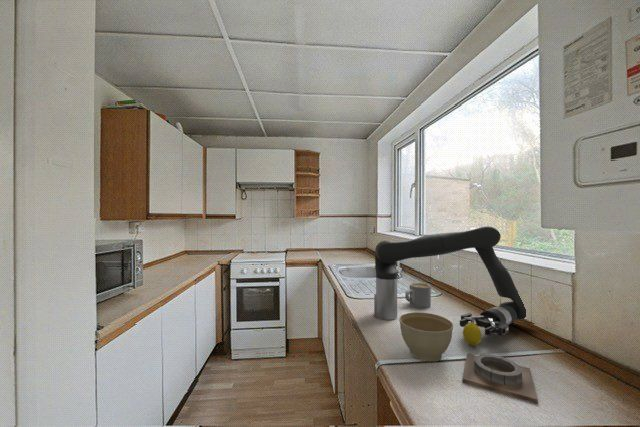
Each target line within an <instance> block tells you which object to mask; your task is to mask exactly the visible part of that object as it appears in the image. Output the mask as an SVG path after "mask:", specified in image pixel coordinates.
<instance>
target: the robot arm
mask: <svg viewBox="0 0 640 427" xmlns="http://www.w3.org/2000/svg"><path fill="white" fill-rule="evenodd" d="M501 237H502V236H501V233H500V232H499V230H498V229H496V228H495V227H494V226H493V227H492V226H490V225H482V226H479V227H476V228H473V229H469V230H464V231H451V232H449V231H448V232H442V233H441V232H440V233H433V234H426V235H423V236H420V237H417V238H414V239H411V240H407V241H399V242H398V241H397V242H392V241H389V240H383V241H380V242H378V243H377V245H375V250H374V269H375V293H374V299H373V300H374V302H373V305H374V308H373V309H374V310H373V313H374V314H373V315H374V317H377V318H378V319H381V320H387V321H391V320H396V319H397V318H398V269H397V262H399V261H404V260H407V259H408V260H409V259H412V258H414V259H416V258H427V257H434V256H442V255H448V254H452V253H455V252H458V251H459V252H460V251H463V250H467V249H474V250H475V251H476V252H477V254H478V255H479V258H480V259H481V262H483V265H484V266H485V268H486V270H487V271H488V274H489V277H490V279H491V281H492V283H493V286H494V287H495V290H496V293H497V294H498V296H499V297H500V298H501V297H502V298H507V299H510V300H511V301H504V302H502V303H500V304H499V305H498V306H495V307H491V308H489V309H486V310H483V311H482V312H481V313H480V315H473V313H472V312H469V313H465V314H464V313H463V314H462V315H460V320H459V326H460V327H461V328H464V327H465V325H467V324H469V323H473V324H475V325H477V326H478V327H480V328H484V335H485V336H491V335H496V334H498V335H499V336H502V337H503V336H504V335H506V334H507V333H509V325H511V324H513V323H515V321H518V319H520V320H525V319H524V318H525V317H526V309H525V307H524V304H523V302H522V300H521V298H520V296H519V294H518V292H519V291H518V289H517V287H516V285H515V283H514V282H515V281H514V280H513V278H512V276H511V274H510V273H509V270H507V268H506V267H505V266H504V264H503V263H502V262H501V261H500V259H499V257H498V256H497V254H496V252H495V249H494V247H495V246H497V245H498V244H499V242H500V241H501Z"/></svg>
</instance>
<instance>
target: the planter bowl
mask: <svg viewBox="0 0 640 427" xmlns="http://www.w3.org/2000/svg"><path fill="white" fill-rule="evenodd" d="M399 325H400V332H401V335H402V339H403V341H404V343H405V344H406V346H407V347H408V349H409V352H410V355H412V357H414V358H415V359H418V360H421V361H425V362H432V363H433V362H437V361H440V360H441V359H442V356H443V354H444V353H445V352H446V351H447V350H448V348H449V347H450V344H451V342H452V338H453V337H452V336H453V330H454V323H453V322H452V321H451V320H449V319H448V318H446V317H443V316H441V315H438V314H435V313H429V312H420V311H419V312H417V311H414V312H412V311H411V312H407V313H403V314H402V315H400V316H399Z"/></svg>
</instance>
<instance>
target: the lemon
mask: <svg viewBox="0 0 640 427" xmlns="http://www.w3.org/2000/svg"><path fill="white" fill-rule="evenodd" d="M468 323H469V324H467V325H465V326H464V327H463V329H462V330H463V331H462V336H463V339H464V341H465V342H466V343H467V344H469V345H470V346H471V347H474V346H477V345H479V344H480V343H481V340H482V332H481V329H480V328H479V327H478V326H477V325H475V324H476V323H474V324H473V323H470V322H468Z"/></svg>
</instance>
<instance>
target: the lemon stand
mask: <svg viewBox="0 0 640 427" xmlns="http://www.w3.org/2000/svg"><path fill="white" fill-rule="evenodd" d="M462 383H463V384H466V385H471V386H474V387H476V388H477V387H478V388H480V389H484V390H488V391H492V392H495V393H499V394H502V395H506V396H509V397H513V398H517V399H521V400H523V401H527V402H530V403H534V404H539V399H538V395H537V392H536V387H535V386H536V385H535V382H534V379H533V375H532V371H531V368H530V367H526V366H523V365H519V364H518V363H516V362H515V361H514V360H511V359H508V358H506V357H503V356H500V355H495V354H487V353H486V354H485V353H484V354H483V353H481V354H478V355H474V354H470V353H466V355H465V362H464V368H463V375H462Z"/></svg>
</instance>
